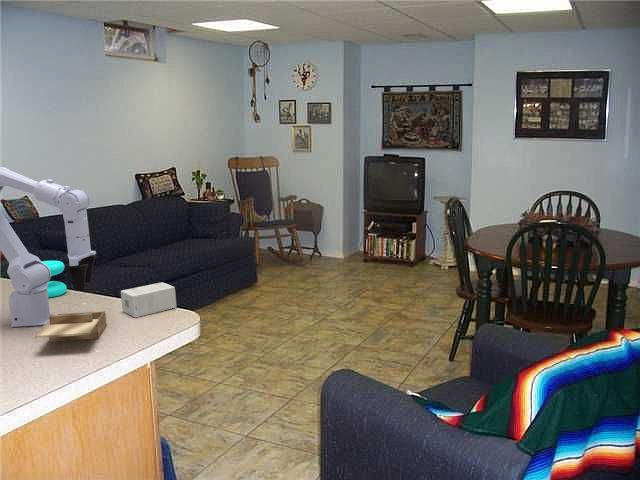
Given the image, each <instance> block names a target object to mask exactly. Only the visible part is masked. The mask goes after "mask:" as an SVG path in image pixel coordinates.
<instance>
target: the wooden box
mask: <svg viewBox="0 0 640 480" xmlns="http://www.w3.org/2000/svg"><path fill="white" fill-rule="evenodd" d="M74 313H75V312H73V313H72V312H71V313H69V312H67V313H58V314H57V315H65V314H74ZM84 313H92V318H93V319H99V321H98V323H97V324H96V326H95V327H94V329H93V330H92V332H91V333H90V335H77V336H60V337H48V341H49V342H61V341H62V342H63V341H66V342H67V341H79V340H80V341H81V340H94V339H95V340H97V339H100V337H102V336H101V335H102V334H103V333H104V330H105V329H106V328H107V317H106V311H91V312H89V311H88V312H86V311H85V312H84Z"/></svg>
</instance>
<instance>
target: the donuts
mask: <svg viewBox="0 0 640 480" xmlns="http://www.w3.org/2000/svg"><path fill="white" fill-rule="evenodd" d="M41 262H42V263H44V264H46V265H47V266H48V267H49V269H50V271H51V277H53V276H57V275H59V274H61V273H63V271H64V270H65V264H64V262H62V261H60V260H43V261H42V260H41ZM47 284H48V287H47V292H48V299H49V298H56V297H59V296H62V295H64V294H65V293H66V291H67V284H65V283H64V282H62V281H57V280H52V281H51V280H49V282H48V283H47Z"/></svg>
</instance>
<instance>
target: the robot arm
mask: <svg viewBox="0 0 640 480" xmlns="http://www.w3.org/2000/svg"><path fill="white" fill-rule="evenodd" d="M5 186H6V187H10V188H13V189H16V190H19V191H23V192H27V193H29V194H32V195H33V196H34V198H35V200H36V201H38V202H41V203H43V204H47V205H49V206H53V207H54V208H58V209H59V211H60V212H61V213H62V217H63V221H64V229H65V237H66V246H67V258H68V261H69V262H68V263H66V264H64V270H65V271H66V272H67V274H68V275H69V277H70V279H71V282H72V284H73V287H74V289H75V291H76V292H77V291H85V287H86V284H89V283H92V278H93V268H94V263H95V260H96V257H97V255H96V254H97V252H96V250H92V248H91V239H90V229H89V220H88V211H87V209H88V208H89V206H90V203H91V202H90V197H89V195H88V193H87V192H86V191H84V190H83V189H81V188H75V189H71V187H70V186H69V185H65V186H64V185H61V184H58V183H55V181H54V180H53V179H51V178H48V179H43V180H41V181H36V180H34V179H31V178H30V177H28V176H26V175H25V176H24V175H22V174H20V173H17V172H15V171H13V170H10V169H9V168H7V167H4V166H3V167H2V166H0V194H1V192H2V191H3V189H4V188H5ZM0 252H1V254H3V256H4V258H5V259H6V260H7V262H8V267H7V270H6V273H7V275H8V277H9V279H10V283H11V285H12V288H13V289H14V291H12V292H11V293H10V295H9V301H8V302H9V303H8V304H9V305H8V306H9V313H10V320H11V324H10V327H11V328H17V327H19V328H20V327H33V326H44V325H45V324H46V323H47V322H50V320H49V316H50V315H51V312H50V310H51V309H50V302H49V298H48V292H47V287H48V284H47V283H48V282H49V281H51V278H52V276H51V271H50V269H49V267H48V266H47V265H46V264H44V263H42V260H41V259H40V258H39V257H38V256H37V255H34V254H32V253H30V252H29V251H28V249H27V248H26V246H25V245H24V244H23V243H22V241H21V239H20V238H19V236H18V234H17V233H16V231H14V229H13V227H12V226H11V224H10V223H9V221H8V220H7V219H6V217H5V216H4V214H3V212H2V211H1V210H0Z"/></svg>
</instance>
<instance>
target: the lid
mask: <svg viewBox="0 0 640 480" xmlns="http://www.w3.org/2000/svg"><path fill="white" fill-rule="evenodd" d="M82 313H83V314H67V313H64V314H65V315H58V314H50V316H49V320H50V322H47V323H46V324H45V325H42V327H41V329H40V330H39V331H38V332H37V333H36V334H35V335H34V338H35V339H37V338H40V339H43V338H49V337H60V336H77V335H90V333H91V332H92V330H93V329H94V327H95V326H96V324H97V323H98V321H99V319H93V318H92V313H85V312H82Z"/></svg>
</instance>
